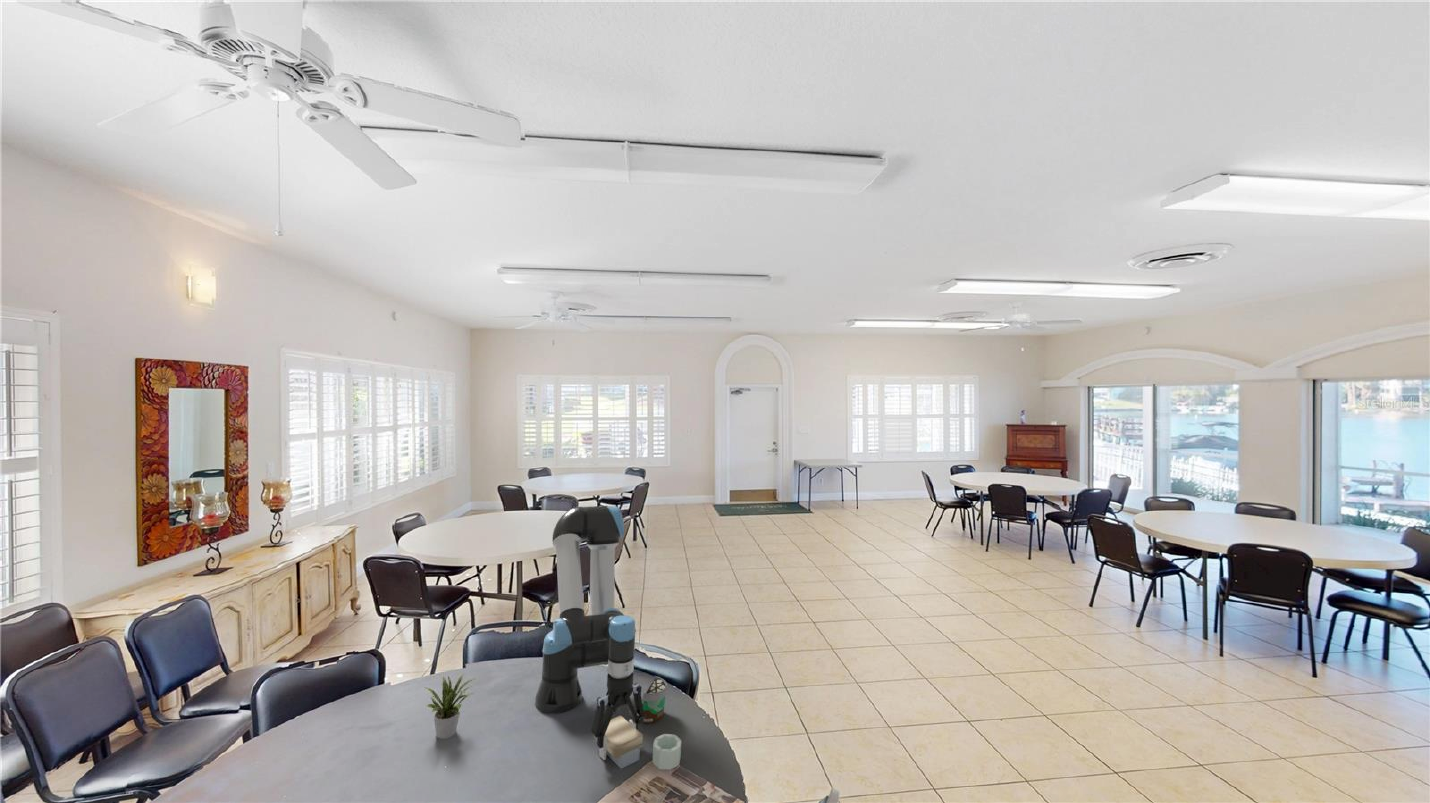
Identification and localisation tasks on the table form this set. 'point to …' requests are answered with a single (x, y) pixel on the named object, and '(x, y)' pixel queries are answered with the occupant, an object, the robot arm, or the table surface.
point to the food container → (654, 701)
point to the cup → (666, 751)
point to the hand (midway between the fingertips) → (617, 750)
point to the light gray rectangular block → (625, 757)
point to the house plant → (447, 708)
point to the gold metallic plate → (622, 737)
